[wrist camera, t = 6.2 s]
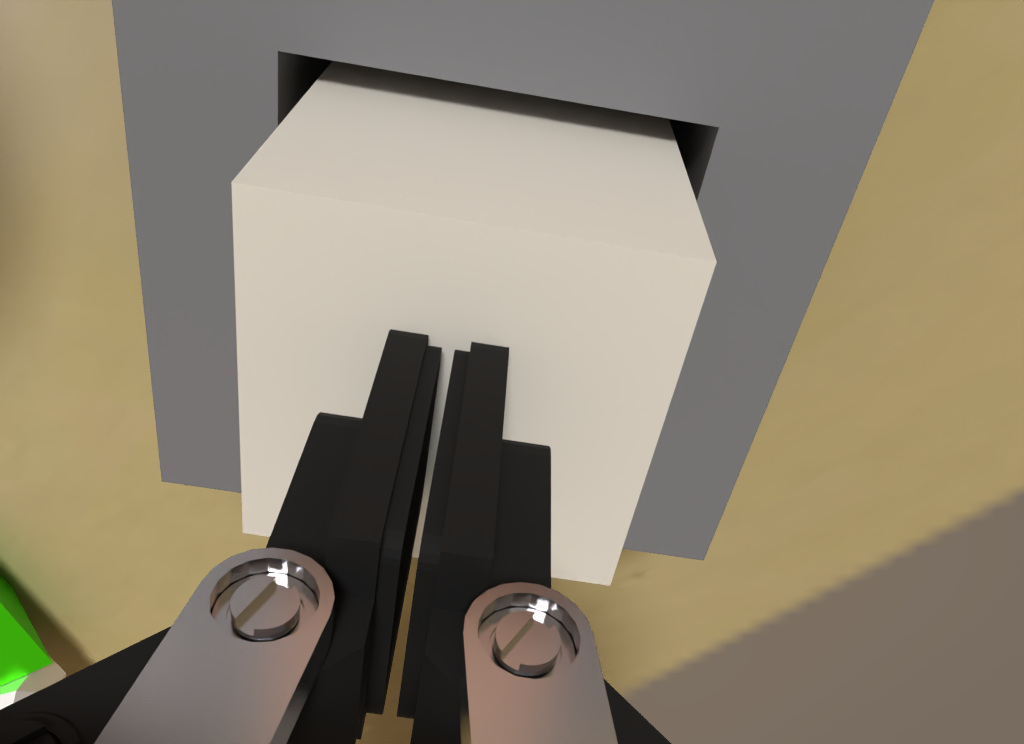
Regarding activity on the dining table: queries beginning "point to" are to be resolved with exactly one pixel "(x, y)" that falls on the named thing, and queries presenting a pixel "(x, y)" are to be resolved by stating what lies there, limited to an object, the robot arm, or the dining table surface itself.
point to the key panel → (541, 72)
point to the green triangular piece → (21, 652)
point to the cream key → (469, 280)
